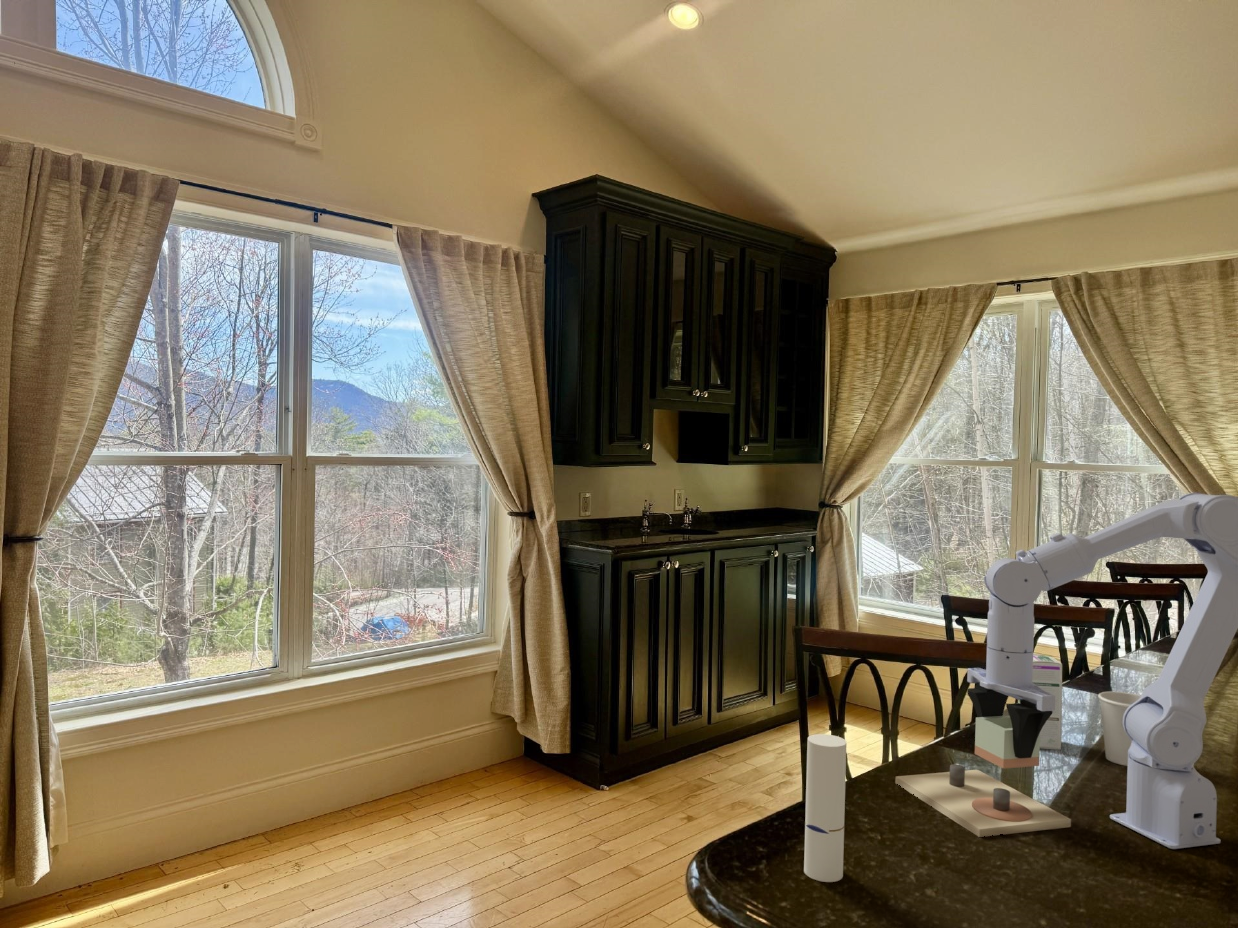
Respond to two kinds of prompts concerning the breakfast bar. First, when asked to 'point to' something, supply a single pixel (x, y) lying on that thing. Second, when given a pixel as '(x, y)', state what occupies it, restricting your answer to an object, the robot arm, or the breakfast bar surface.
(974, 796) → the pin board
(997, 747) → the sleeve
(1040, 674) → the syrup box
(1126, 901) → the breakfast bar surface
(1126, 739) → the dixie cup
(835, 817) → the tube
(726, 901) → the breakfast bar surface
